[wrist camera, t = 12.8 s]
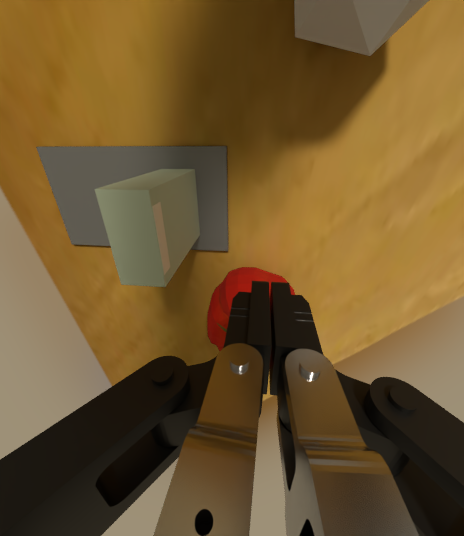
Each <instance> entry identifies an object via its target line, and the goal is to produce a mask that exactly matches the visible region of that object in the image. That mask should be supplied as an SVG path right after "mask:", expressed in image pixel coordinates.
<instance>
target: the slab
mask: <svg viewBox="0 0 464 536" xmlns="http://www.w3.org/2000/svg"><path fill="white" fill-rule="evenodd" d="M95 193H96V196H97V200H98V203H99V207H100V211H101V214H102V218H103V221H104V225H105V228H106V232H107V235H108V239H109V242H110V246H111V250H112V253H113V257H114V260H115V264H116V267H117V271H118V274H119V278H120V281H121V284H122V285H139V286H156V287H166V286H167V284H168V283H169V281H170V280H171V278H172V277H173V275H174V273H175V272H176V270H177V269H178V267H179V266H180V264H181V263H182V261H183V260H184V258H185V257H186V255H187V254H188V252H189V251H190V249H191V247H192V246H193V244H194V243H195V241H196V240H197V238H198V237H199V235H200V228H199V215H198V202H197V189H196V177H195V169H160V170H156V171H153V172H150V173H146V174H143V175H140V176H136V177H133V178H130V179H127V180H123V181H120V182H117V183H113V184H110V185H107V186H103V187H100V188H97V189H95Z"/></svg>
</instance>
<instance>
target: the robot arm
mask: <svg viewBox="0 0 464 536" xmlns="http://www.w3.org/2000/svg"><path fill="white" fill-rule="evenodd" d="M269 374H270V395H277V400H278V411H277V428H278V436H279V445H280V453H281V463H282V471H283V479H284V489H285V520H286V534H287V536H464V423H463V422H462V421H460V420H459V419H458V418H456V417H455V416H453V415H452V414H451V413H449V412H448V411H446V410H445V409H444V408H442V407H441V406H440V405H438V404H437V403H435V402H434V401H433V400H431V399H430V398H428V397H427V396H426V395H424V394H423V393H421V392H420V391H419V390H417V389H416V388H414V387H413V386H411V385H410V384H408V383H406V382H404V381H401V380H399V379H396V378H391V377H380V378H377V379H375V380H374V381H373V382H372V384H371V385H370V384H367V383H364V382H361V381H359V380H356V379H353V378H350V377H348V376H345V375H343V374H342V373H340V372H338V371H337V370H335V369H334V366H333V365H332V363H331V362H330V361H329V360H328V359H327V358H326V357H325V356H324V355H323V352H322V349H321V345H320V342H319V338H318V335H317V331H316V327H315V324H314V322H313V317H312V314H311V309H310V306H309V303H308V302H307V301H306V300H305V299H304V298H303V296H302V295H291V290H290V285H289V283H286V282H271V289H270V294H269V282H267V281H252V288H251V292H238V293H237V294H236V296H235V297H234V298H233V300H232V306H231V311H230V316H229V322H228V327H227V332H226V337H225V343H224V347H223V349H222V350H221V351H220V352H219V353H218V355H217V356H216V357H215V358H214V359H212V360H210V361H208V362H205V363H201V364H196V365H191V366H187V365H186V363H185V362H184V361H183V360H182V359H180V358H178V357H175V356H163V357H159V358H157V359H154V360H152V361H151V362H149V363H148V364H146V365H144V366H143V367H141V368H140V369H138V370H137V371H135V372H134V373H132V374H131V375H129V376H128V377H126V378H125V379H123V380H122V381H120V382H118V383H117V384H115V385H114V386H112V387H111V388H109V389H108V390H107V391H105V392H104V393H102V394H100V395H99V396H97V397H96V398H94V399H92V400H91V401H89V402H88V403H87V404H85V405H83V406H82V407H80V408H79V409H77V410H76V411H74V412H73V413H71V414H70V415H68V416H66V417H65V418H63V419H62V420H60V421H59V422H58V423H56V424H54V425H53V426H51V427H50V428H48V429H47V430H45V431H44V432H42V433H40V434H39V435H38V436H36V437H34V438H33V439H31V440H30V441H28V442H27V443H25V444H24V445H22V446H21V447H19V448H18V449H16V450H14V451H13V452H11V453H10V454H8V455H7V456H5V457H4V458H2V459H1V460H0V536H101V535H102V534H103V533H104V532H105V531H106V530H107V529H108V528H109V527H110V526H111V525H112V524H113V523H114V522H115V521H116V520H117V519H118V518H119V517H120V516H121V515H122V514H123V513H124V512H125V510H127V509H128V508H129V507H130V506H131V505H132V504H133V503H134V502H135V500H137V499H138V498H139V496H141V494H143V492H144V491H145V490H146V489H147V488H148V487H149V486H150V485H151V484H152V483H153V482H154V481H155V480H156V479H157V478H158V477H159V476H160V475H161V474H162V473H163V472H164V471H165V470H166V469H167V468H168V467H169V466H170V465H171V464H172V463H173V462H174V461H175V460H176V459H177V458H178V457H179V458H178V461H177V464H176V468H175V471H174V474H173V477H172V480H171V483H170V486H169V489H168V492H167V495H166V498H165V501H164V505H163V508H162V511H161V514H160V517H159V520H158V523H157V526H156V529H155V532H154V535H153V536H249V530H250V516H251V506H252V493H253V481H254V469H255V457H256V446H257V432H258V420H259V417H260V414H261V408H262V398H263V394H267V385H268V376H269Z"/></svg>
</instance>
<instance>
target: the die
mask: <svg viewBox="0 0 464 536" xmlns="http://www.w3.org/2000/svg"><path fill="white" fill-rule="evenodd" d="M428 1H429V0H294V13H295V37H297V38H301V39H304V40H308V41H312V42H316V43H320V44H324V45H328V46H332V47H336V48H340V49H344V50H348V51H352V52H356V53H360V54H364V55H368V56H371V55H372V54H373V53H374V52H375V51H376V50H377V49H378V48H379V47H380V46H381V45H382V44H383V43H385V42H386V41H387V40H388V39H389V38H390V37H391V36H392V35H393V34H394V33H395V32H396V31H397V30H398V29H399V28H400V27H401V26H402V25H404V24H405V23H406V22H407V21H408V20H409V19H410V18H411V17H412V16H413V15H414V14H415V13H416V12H417V11H418V10H419V9H420V8H422V7H423V6H424V5H425V4H426V3H427V2H428Z"/></svg>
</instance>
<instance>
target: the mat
mask: <svg viewBox="0 0 464 536" xmlns="http://www.w3.org/2000/svg"><path fill="white" fill-rule="evenodd" d="M36 148H37V150H38V153H39V156H40V158H41V161H42V164H43V167H44V169H45V172H46V175H47V178H48V180H49V183H50V186H51V188H52V191H53V194H54V197H55V199H56V202H57V205H58V208H59V210H60V213H61V216H62V218H63V221H64V224H65V227H66V229H67V232H68V235H69V238H70V240H71V243H72V244H76V245H99V246H110V242H109V239H108V235H107V232H106V228H105V225H104V221H103V218H102V214H101V211H100V207H99V203H98V200H97V196H96V193H95V189H97V188H100V187H103V186H107V185H110V184H113V183H117V182H120V181H123V180H127V179H130V178H133V177H136V176H140V175H143V174H146V173H150V172H153V171H156V170H160V169H195V177H196V189H197V202H198V215H199V228H200V235H199V237H198V238H197V240H196V241H195V243H194V244H193V246H192V247H191V249H192V250H215V251H228V193H227V146H121V147H36Z"/></svg>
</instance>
